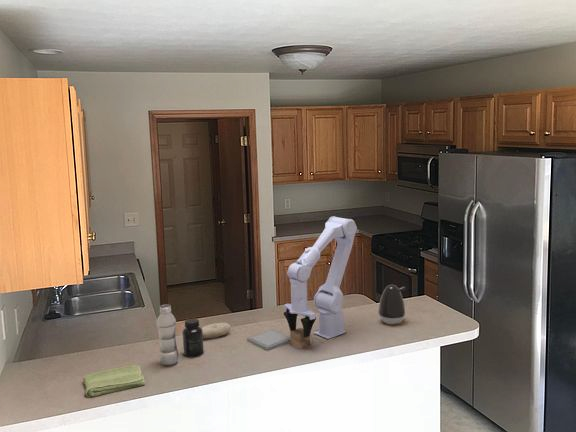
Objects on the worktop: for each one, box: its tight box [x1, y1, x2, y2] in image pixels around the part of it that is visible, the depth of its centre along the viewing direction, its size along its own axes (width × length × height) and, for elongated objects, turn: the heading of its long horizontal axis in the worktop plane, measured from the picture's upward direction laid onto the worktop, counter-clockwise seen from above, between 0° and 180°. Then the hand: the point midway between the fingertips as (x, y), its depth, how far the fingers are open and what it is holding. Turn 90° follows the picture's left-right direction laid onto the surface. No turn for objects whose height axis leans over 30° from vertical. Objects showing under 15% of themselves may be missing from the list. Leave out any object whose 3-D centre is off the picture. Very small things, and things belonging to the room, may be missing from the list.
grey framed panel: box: [246, 329, 291, 351], centre depth 197 cm, size 12×12×1 cm
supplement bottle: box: [182, 318, 205, 358], centre depth 187 cm, size 7×7×12 cm
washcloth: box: [82, 364, 146, 398], centre depth 168 cm, size 13×18×3 cm
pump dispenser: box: [378, 284, 406, 325], centre depth 211 cm, size 10×10×15 cm
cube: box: [289, 327, 311, 349], centre depth 193 cm, size 5×5×5 cm
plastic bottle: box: [156, 303, 180, 366], centre depth 180 cm, size 6×7×20 cm
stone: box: [201, 322, 232, 339], centre depth 203 cm, size 6×6×12 cm
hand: (299, 333), depth 193 cm, fingers open, 7 cm apart
